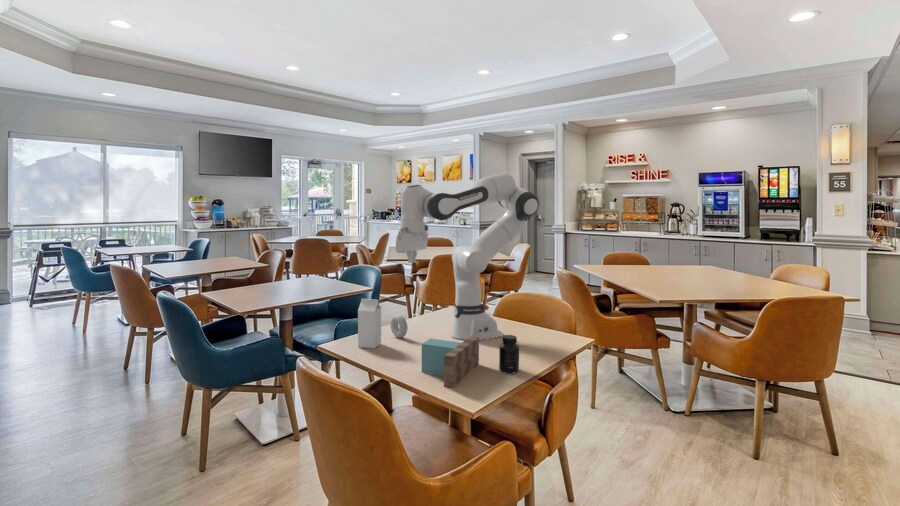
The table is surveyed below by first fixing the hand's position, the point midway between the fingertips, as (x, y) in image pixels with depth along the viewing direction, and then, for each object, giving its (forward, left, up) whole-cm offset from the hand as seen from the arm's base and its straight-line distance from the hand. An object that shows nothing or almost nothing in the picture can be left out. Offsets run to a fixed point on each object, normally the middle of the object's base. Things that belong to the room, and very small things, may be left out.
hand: (411, 262), depth 182 cm
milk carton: (+15, -8, -34) cm, 38 cm away
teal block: (-2, +29, -34) cm, 45 cm away
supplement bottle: (-24, +36, -34) cm, 55 cm away
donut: (+1, -15, -34) cm, 37 cm away
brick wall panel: (-7, +34, -34) cm, 49 cm away
